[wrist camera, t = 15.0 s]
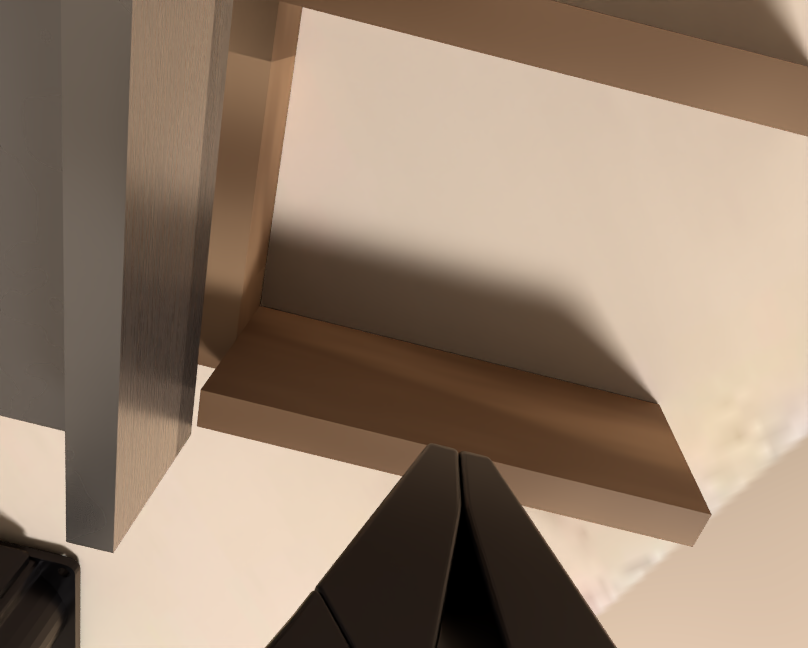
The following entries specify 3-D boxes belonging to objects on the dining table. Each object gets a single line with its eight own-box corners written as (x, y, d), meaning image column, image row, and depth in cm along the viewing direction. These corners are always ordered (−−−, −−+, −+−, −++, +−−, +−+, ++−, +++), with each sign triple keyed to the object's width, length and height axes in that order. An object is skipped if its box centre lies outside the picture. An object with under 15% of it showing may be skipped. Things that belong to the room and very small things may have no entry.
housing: (645, 432, 23) (692, 546, 18) (-218, 219, 22) (-410, 278, 17) (819, 77, 17) (953, 104, 13) (-312, -216, 17) (-626, -304, 12)
